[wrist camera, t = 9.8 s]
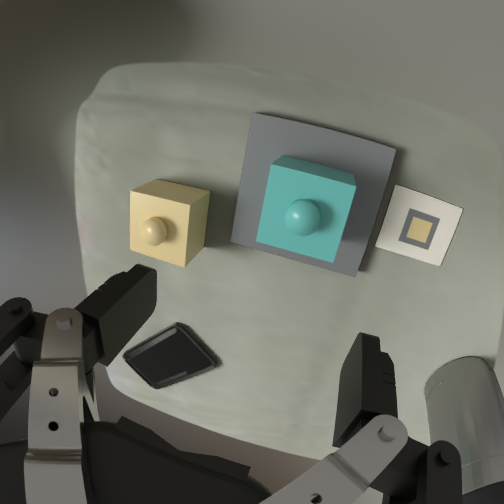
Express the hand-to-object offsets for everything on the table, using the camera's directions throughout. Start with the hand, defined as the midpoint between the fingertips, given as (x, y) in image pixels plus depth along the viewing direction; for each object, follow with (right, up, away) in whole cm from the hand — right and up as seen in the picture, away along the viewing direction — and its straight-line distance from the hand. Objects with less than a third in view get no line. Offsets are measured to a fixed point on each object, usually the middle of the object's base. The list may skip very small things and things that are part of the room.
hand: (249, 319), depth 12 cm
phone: (-12, -12, +31) cm, 35 cm away
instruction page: (+15, +5, +14) cm, 21 cm away
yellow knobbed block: (-7, +6, +20) cm, 22 cm away
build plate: (+5, +8, +16) cm, 18 cm away
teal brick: (+5, +7, +15) cm, 17 cm away
